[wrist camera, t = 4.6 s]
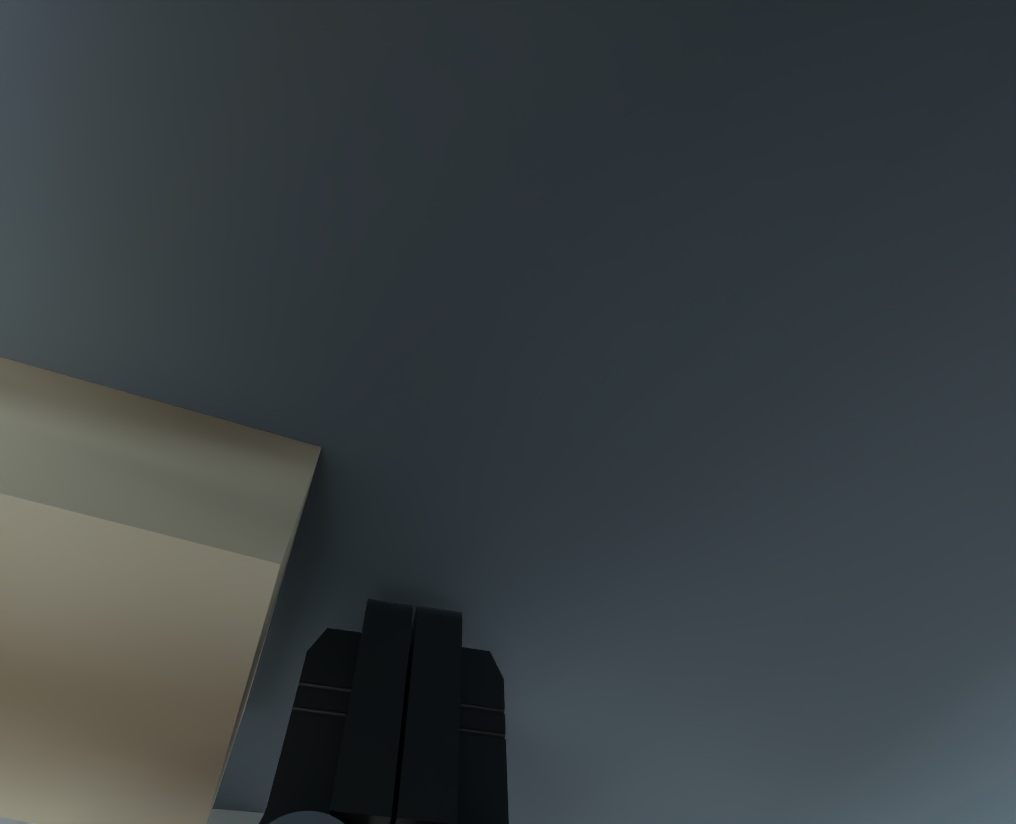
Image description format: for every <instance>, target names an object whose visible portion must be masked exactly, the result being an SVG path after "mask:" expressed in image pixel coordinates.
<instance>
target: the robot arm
mask: <svg viewBox="0 0 1016 824" xmlns="http://www.w3.org/2000/svg"><path fill="white" fill-rule="evenodd" d="M412 616H413V605H406V604H399V603H393V602H386V601H379V600H373V599H368V601H367V606H366V612H365V617H364V622H363V628H362V633H359V632H352V631H345V630H338V629H331V628H327V629H326V630H325V631H324V633H323V634H322V635H321V636H320V637H319V638H318V640H317V641H316V642H315V643H314V644H313V645H312V647H311V648H310V649H309V650H308V651H307V654H306V658H305V662H304V666H303V669H302V673H301V677H300V681H299V686H298V689H297V693H296V697H295V700H294V704H293V709H292V712H291V716H290V720H289V724H288V728H287V731H286V735H285V739H284V743H283V747H282V751H281V755H280V759H279V763H278V766H277V770H276V774H275V778H274V782H273V786H272V790H271V794H270V797H269V801H268V805H267V808H266V810H265V813H264V815H263V817H262V819H261V821H260V822H259V824H509V820H508V791H507V762H506V739H505V714H504V709H505V705H504V679H503V677H502V675H501V673H500V671H499V669H498V667H497V665H496V663H495V661H494V659H493V657H492V655H491V653H490V651H485V650H478V649H471V648H464V647H462V613H461V612H454V611H448V610H441V609H434V608H428V607H421V606H417V607H416V609H415V613H414V617H413V622H412Z"/></svg>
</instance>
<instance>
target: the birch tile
mask: <svg viewBox="0 0 1016 824" xmlns="http://www.w3.org/2000/svg"><path fill="white" fill-rule="evenodd" d="M321 448H322V447H319V446H316V445H312V444H308V443H305V442H301V441H298V440H294V439H291V438H287V437H284V436H280V435H277V434H273V433H269V432H266V431H262V430H259V429H255V428H252V427H248V426H245V425H241V424H237V423H234V422H230V421H227V420H223V419H220V418H216V417H213V416H209V415H205V414H202V413H198V412H195V411H191V410H188V409H184V408H181V407H177V406H173V405H170V404H166V403H163V402H159V401H156V400H152V399H149V398H145V397H141V396H138V395H134V394H131V393H127V392H124V391H120V390H117V389H113V388H109V387H106V386H102V385H99V384H95V383H92V382H88V381H85V380H81V379H77V378H74V377H70V376H67V375H63V374H60V373H56V372H53V371H49V370H45V369H42V368H38V367H35V366H31V365H28V364H24V363H21V362H17V361H13V360H10V359H6V358H3V357H0V817H2V818H7V819H13V820H18V821H24V822H29V823H35V824H208V821H209V817H210V814H211V811H212V808H213V805H214V802H215V799H216V796H217V793H218V790H219V787H220V784H221V781H222V778H223V775H224V772H225V769H226V766H227V763H228V760H229V757H230V754H231V751H232V747H233V744H234V741H235V738H236V735H237V732H238V729H239V726H240V723H241V720H242V717H243V714H244V711H245V708H246V704H247V701H248V697H249V694H250V690H251V687H252V684H253V680H254V677H255V673H256V670H257V667H258V663H259V660H260V656H261V653H262V649H263V646H264V643H265V639H266V636H267V632H268V629H269V625H270V622H271V619H272V615H273V612H274V608H275V605H276V602H277V598H278V595H279V591H280V588H281V584H282V581H283V578H284V574H285V571H286V567H287V564H288V560H289V557H290V554H291V550H292V547H293V543H294V540H295V537H296V533H297V530H298V526H299V523H300V519H301V516H302V513H303V509H304V506H305V502H306V499H307V495H308V492H309V489H310V485H311V482H312V478H313V475H314V472H315V468H316V465H317V461H318V458H319V454H320V451H321Z"/></svg>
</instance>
